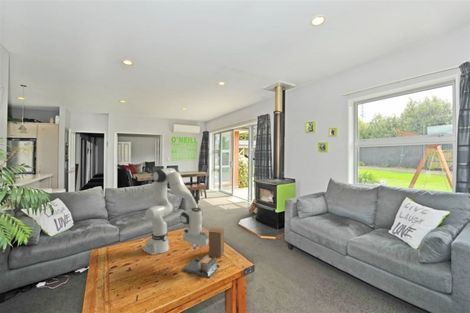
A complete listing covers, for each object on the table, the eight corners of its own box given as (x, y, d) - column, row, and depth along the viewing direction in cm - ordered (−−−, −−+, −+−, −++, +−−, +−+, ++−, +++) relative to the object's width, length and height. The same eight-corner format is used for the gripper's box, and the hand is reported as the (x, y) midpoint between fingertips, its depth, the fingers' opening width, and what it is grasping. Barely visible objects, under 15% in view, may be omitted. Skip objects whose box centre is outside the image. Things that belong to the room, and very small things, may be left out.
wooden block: (220, 257, 161) (220, 232, 160) (208, 256, 163) (208, 231, 162) (224, 251, 171) (223, 227, 170) (212, 250, 173) (212, 227, 172)
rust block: (202, 270, 141) (202, 262, 141) (207, 265, 148) (207, 257, 147) (207, 272, 140) (207, 263, 139) (212, 266, 146) (212, 258, 146)
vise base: (182, 270, 144) (182, 260, 143) (194, 260, 156) (193, 251, 156) (209, 278, 135) (209, 266, 135) (219, 267, 148) (219, 256, 148)
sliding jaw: (198, 271, 140) (198, 262, 140) (206, 263, 150) (206, 255, 150) (200, 271, 139) (200, 263, 139) (208, 263, 150) (208, 255, 149)
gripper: (210, 231, 148) (209, 250, 148) (187, 226, 156) (186, 244, 156) (205, 235, 142) (205, 254, 142) (181, 229, 150) (181, 247, 151)
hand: (195, 249), depth 149 cm, fingers closed
